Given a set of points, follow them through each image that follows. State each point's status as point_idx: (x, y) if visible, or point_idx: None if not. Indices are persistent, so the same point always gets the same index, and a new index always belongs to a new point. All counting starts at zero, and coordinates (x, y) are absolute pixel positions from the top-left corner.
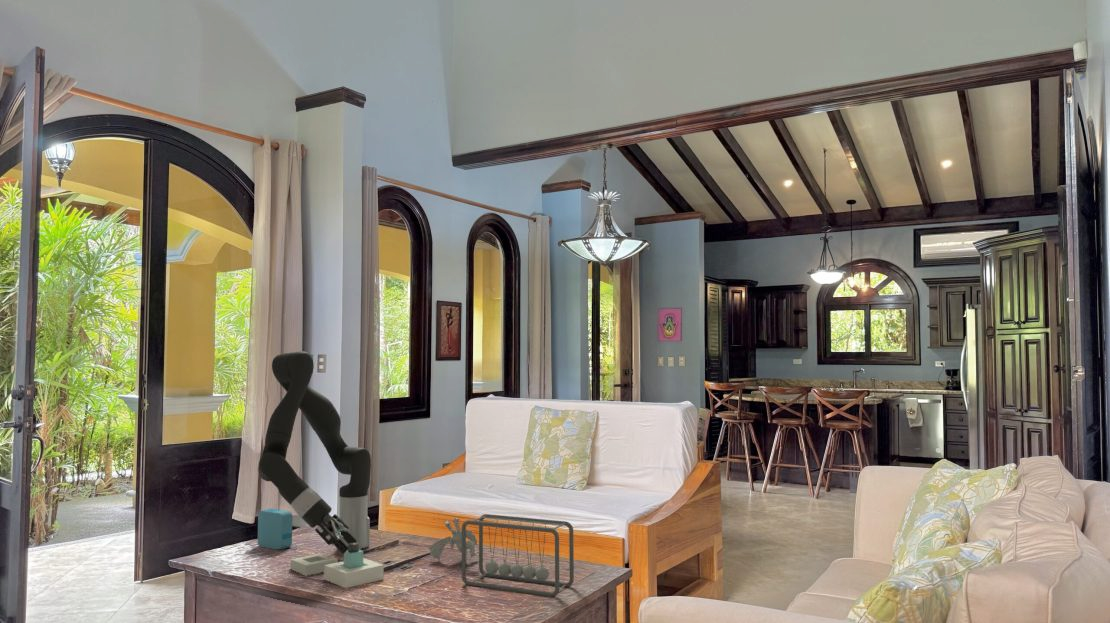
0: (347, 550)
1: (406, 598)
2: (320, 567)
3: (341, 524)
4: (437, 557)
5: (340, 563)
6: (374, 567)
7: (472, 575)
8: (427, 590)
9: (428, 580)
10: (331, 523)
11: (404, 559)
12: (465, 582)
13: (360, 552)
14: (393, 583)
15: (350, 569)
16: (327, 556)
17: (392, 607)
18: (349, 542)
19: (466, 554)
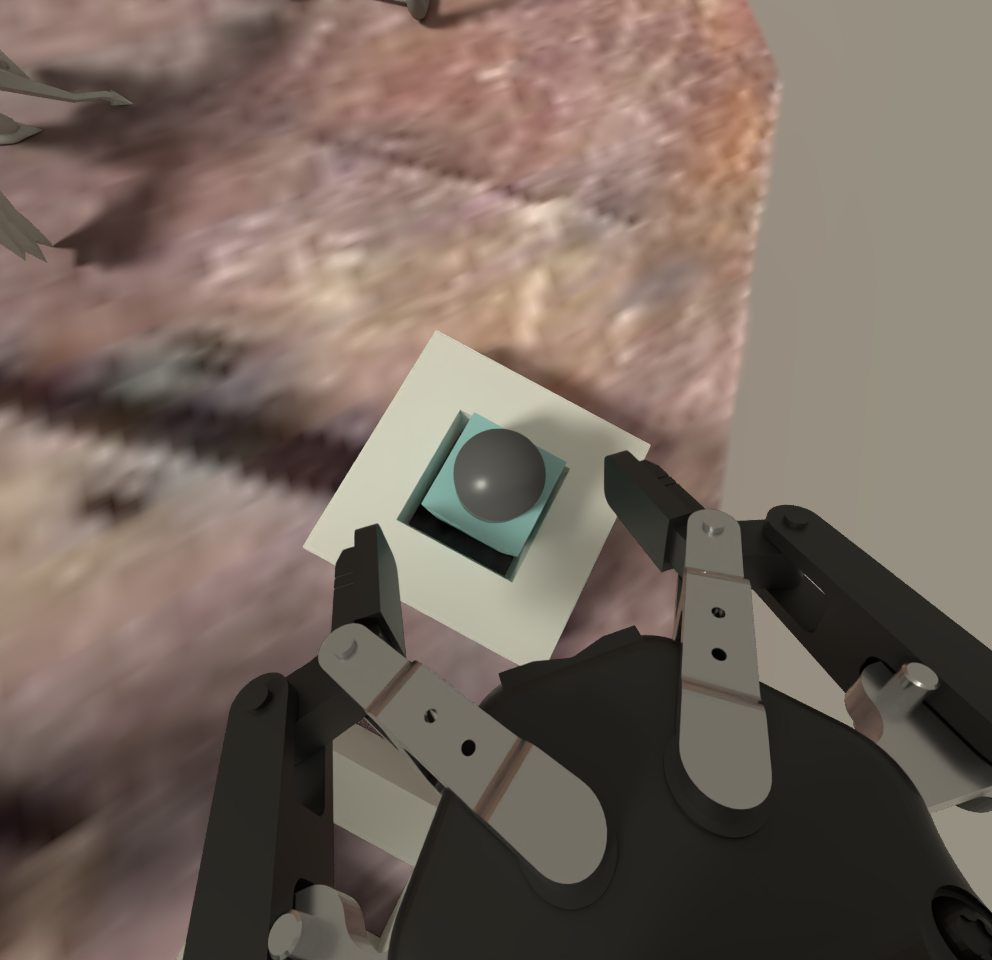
0: (491, 539)
1: (653, 163)
2: (418, 777)
3: (426, 707)
4: (35, 237)
5: (475, 598)
6: (488, 360)
7: (284, 33)
8: (537, 128)
9: (404, 172)
10: (764, 713)
11: (38, 439)
12: (426, 8)
13: (495, 425)
14: (488, 293)
15: (575, 461)
16: None
17: (760, 168)
18: (394, 582)
19: (9, 74)
